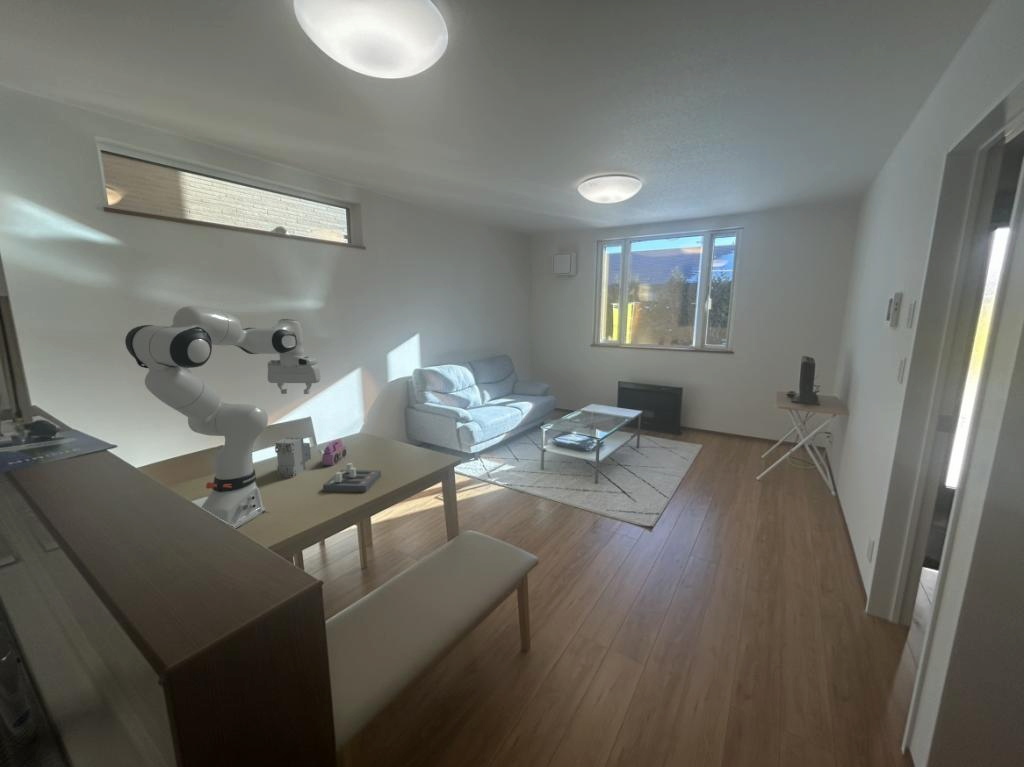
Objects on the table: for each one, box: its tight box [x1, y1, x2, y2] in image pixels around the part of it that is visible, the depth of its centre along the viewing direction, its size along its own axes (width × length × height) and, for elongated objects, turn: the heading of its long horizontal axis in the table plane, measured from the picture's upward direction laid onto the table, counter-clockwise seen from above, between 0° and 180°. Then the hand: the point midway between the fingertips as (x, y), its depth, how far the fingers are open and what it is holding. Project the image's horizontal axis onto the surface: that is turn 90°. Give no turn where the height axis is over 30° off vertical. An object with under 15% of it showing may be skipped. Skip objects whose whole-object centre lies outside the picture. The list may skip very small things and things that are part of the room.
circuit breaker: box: [274, 436, 312, 478], centre depth 180 cm, size 8×14×15 cm, turn 174°
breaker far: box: [345, 462, 354, 473], centre depth 172 cm, size 2×2×4 cm
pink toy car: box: [321, 438, 348, 466], centre depth 194 cm, size 18×6×10 cm, turn 177°
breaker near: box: [334, 471, 342, 482], centre depth 162 cm, size 2×2×4 cm
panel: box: [322, 469, 382, 493], centre depth 168 cm, size 16×17×3 cm
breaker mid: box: [349, 467, 357, 478], centre depth 167 cm, size 2×2×4 cm
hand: (295, 393), depth 167 cm, fingers open, 8 cm apart
